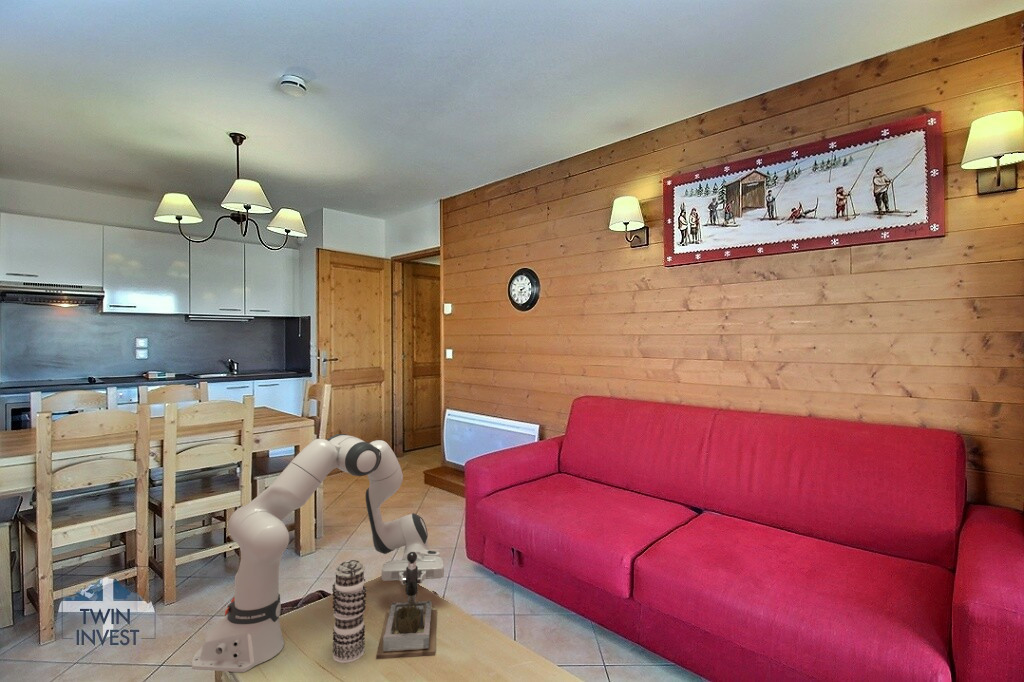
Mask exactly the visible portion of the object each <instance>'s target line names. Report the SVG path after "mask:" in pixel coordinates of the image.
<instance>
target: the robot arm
mask: <svg viewBox="0 0 1024 682" xmlns="http://www.w3.org/2000/svg"><path fill="white" fill-rule="evenodd" d="M394 452H395V451H393V449H392V448H391V447H390V445H389V444H388V443H387V442H386V441H384V440H381V439H378V440H377V439H376V440H373V441H371V442H367V441H364V440H363V439H361V438H359V437H357V436H353V435H349V434H346V433H338V434H334V435H332V436H330V437H329V438H328V439H325V438H316V439H314V440H312V441H311V442H310V443H308V444H307V445H306V446H305V447H304V448H303V449H301V450H300V451H299V452H298V453H297V455H296V456H294V458H293V459H292V460H291V461H290V462H289V463H288V464H287V466H286V467H285V468H284V469H283V471H282V472H281V473H280V474H279V475H278V476H277V477H276V478H275V480H274V481H273V482H272V483H271V484H270V485H269V486H267V488H266V489H264V491H261V493H259V494H258V495H257V496H256V497H255V498H254V499H252V500H251V501H250V502H248V503H247V504H245V505H242V506H241V507H238V508H237V509H236V510H235V511H233V513H232V514H231V516H230V518H229V520H228V531H229V535H230V538H231V539H232V540H233V541H234V542H235V544H237V545H238V547H239V549H240V554H241V555H240V563H239V567H238V570H237V572H236V574H235V576H234V596H233V597H232V599H231V600H230V603H229V604H228V605H227V608H226V609H225V611H224V616H225V617H224V618H222V619H221V620H219V621H218V622H217V623H215V625H214V626H212V628H211V629H210V630H209V631H208V632H207V634H206V636H205V638H204V641H203V643H202V645H201V646H200V647H199V648H198V650H197V651H196V652H195V654H194V656H193V657H192V660H191V665H190V666H191V670H197V671H198V670H199V671H215V672H228V673H229V672H232V673H245V672H247V671H249V670H250V669H252V668H254V667H255V666H257V665H260V664H263V663H265V662H267V661H268V660H271V659H272V658H274V657H275V656H277V655H278V654H279V653H280V652H281V651H282V650H283V648H284V646H285V640H284V638H283V633H282V629H281V623H280V622H281V621H280V615H281V604H282V603H281V595H280V593H279V588H280V587H279V584H280V583H279V582H280V580H279V579H280V567H281V561H282V557H283V554H284V553H285V551H286V550H287V548H288V545H289V543H290V533H289V531H288V528H287V526H286V525H285V523H284V522H283V520H284V519H285V518H286V517H287V516H289V515H290V514H291V513H293V512H294V511H296V510H298V509H301V508H302V507H303V506H304V505H305V504H306V503H307V502H308V501H309V499H310V498H311V497H312V495H313V494H314V493H315V491H317V489H318V488H319V487H320V486H321V484H322V483H323V482H324V480H325V479H326V478H327V476H328V475H329V474H330V473H331V472H332V471H333V470H335V469H338V470H339V471H342V472H344V473H347V474H350V475H352V476H355V477H364V476H366V477H367V478H368V481H369V486H368V488H367V489H366V490H365V504H366V510H367V515H368V520H369V525H370V529H371V534H372V536H371V537H372V544H373V547H374V549H375V551H376V552H379V553H380V554H383V555H387V554H389V553H391V552H392V551H395V550H398V549H401V548H403V547H404V550H403V553H402V557H401V559H400V560H399V559H397V560H389V561H386V562H385V563H384V564H383V565H382V569H381V580H382V581H385V582H389V581H392V582H393V581H399V582H400V584H401V585H406V567H408V562H409V561H408V560H407V555H408V554H409V553H410V552H415V553H416V554H417V560H416V566H417V567H418V578H417V585H418V584H419V585H420V584H423V582H424V581H425V580H432V579H433V580H434V579H443V578H444V576H445V568H444V567H445V565H444V561H443V560H444V559H443V558H442V557H441V553H440V551H434V550H430V548H429V547H430V545H429V541H428V536H429V535H428V528H427V525H426V523H425V521H424V519H423V518H422V516H421V515H419V514H417V513H414V512H413V513H410V514H407V515H404V516H400V517H398V518H396V519H394V520H391V521H387V522H384V520H383V517H382V512H381V507H382V505H383V504H384V503H385V502H386V501H387V500H388V499H389V498H391V497H392V496H394V495H395V494H396V493H397V492H398V490H399V489H400V488H401V486H402V484H403V480H404V474H403V470H402V468H401V465H400V462H399V460H398V457H397V456H396V454H395V453H394Z"/></svg>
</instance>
